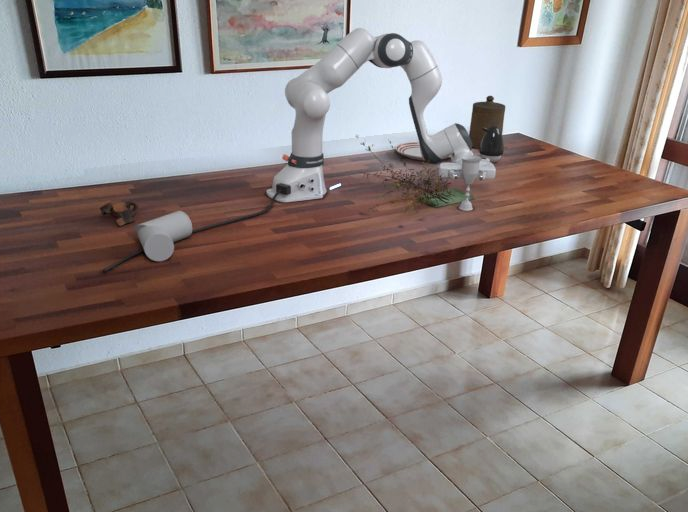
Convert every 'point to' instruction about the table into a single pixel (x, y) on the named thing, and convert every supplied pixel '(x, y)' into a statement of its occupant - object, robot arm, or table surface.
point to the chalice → (469, 176)
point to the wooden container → (485, 119)
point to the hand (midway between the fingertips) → (468, 177)
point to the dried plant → (413, 185)
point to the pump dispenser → (492, 144)
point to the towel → (458, 198)
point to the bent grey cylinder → (163, 234)
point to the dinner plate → (411, 150)
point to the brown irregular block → (120, 210)
